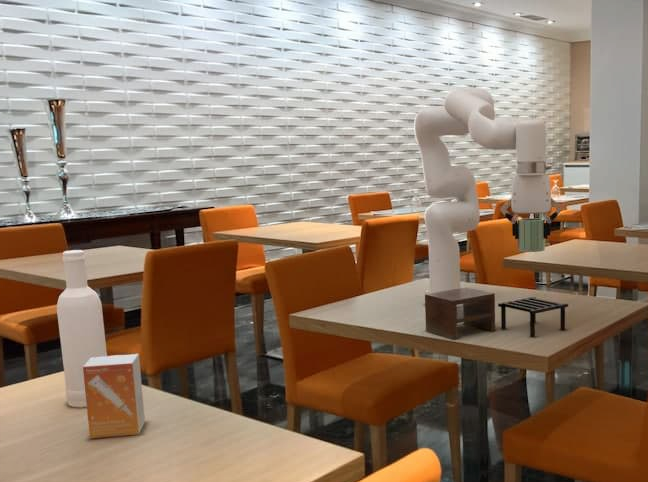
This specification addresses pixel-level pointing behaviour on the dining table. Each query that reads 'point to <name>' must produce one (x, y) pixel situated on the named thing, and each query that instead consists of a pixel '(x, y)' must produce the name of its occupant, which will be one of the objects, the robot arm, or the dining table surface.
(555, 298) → the dining table surface
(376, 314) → the dining table surface
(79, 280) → the bottle
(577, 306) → the dining table surface
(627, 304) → the dining table surface
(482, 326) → the shelf
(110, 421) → the small box
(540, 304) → the rack
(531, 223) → the cup
